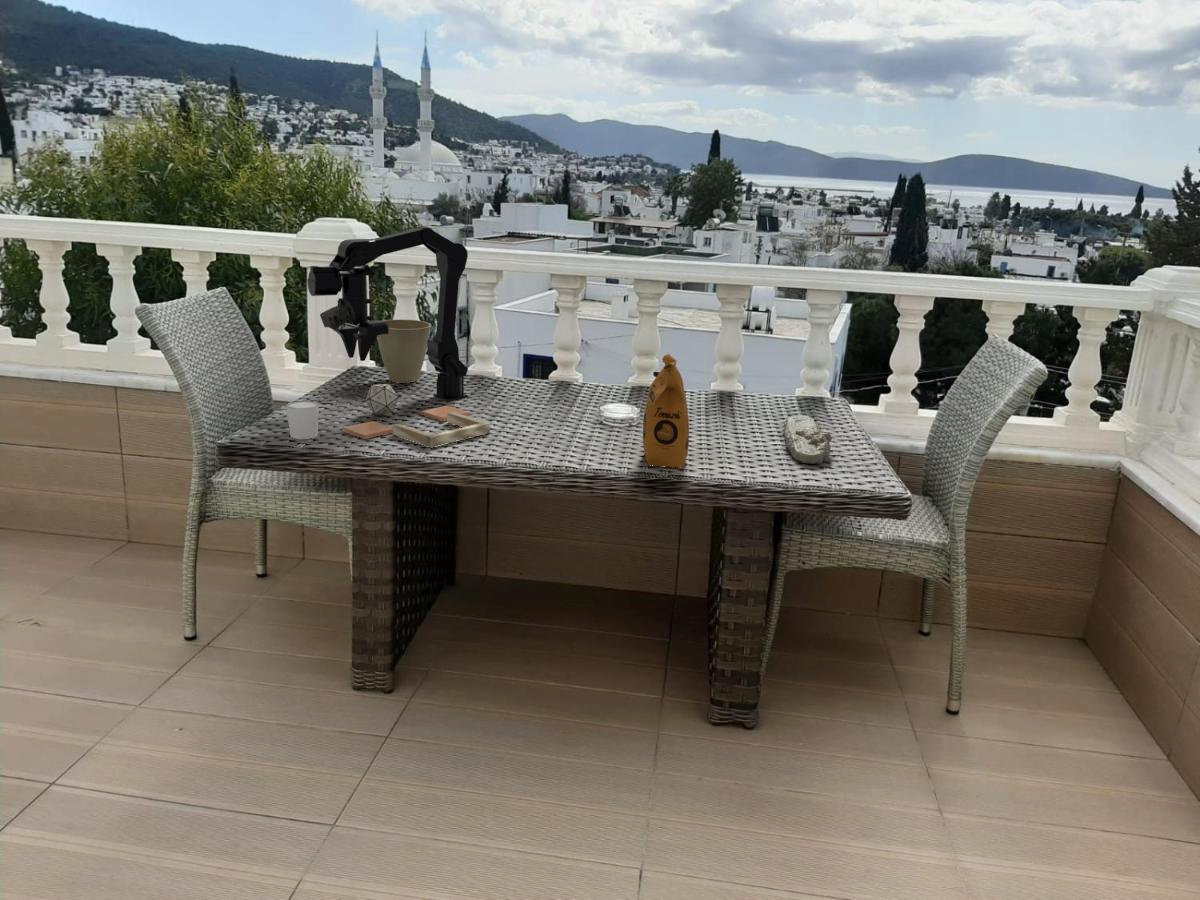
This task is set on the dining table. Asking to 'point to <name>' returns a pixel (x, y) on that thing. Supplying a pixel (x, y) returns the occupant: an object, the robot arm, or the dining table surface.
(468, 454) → the dining table surface
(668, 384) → the coffee package
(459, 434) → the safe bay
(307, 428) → the shot glass
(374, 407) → the game die
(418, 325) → the plant pot
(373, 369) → the dining table surface
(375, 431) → the tile
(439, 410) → the tile
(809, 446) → the elongated rock
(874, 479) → the dining table surface
